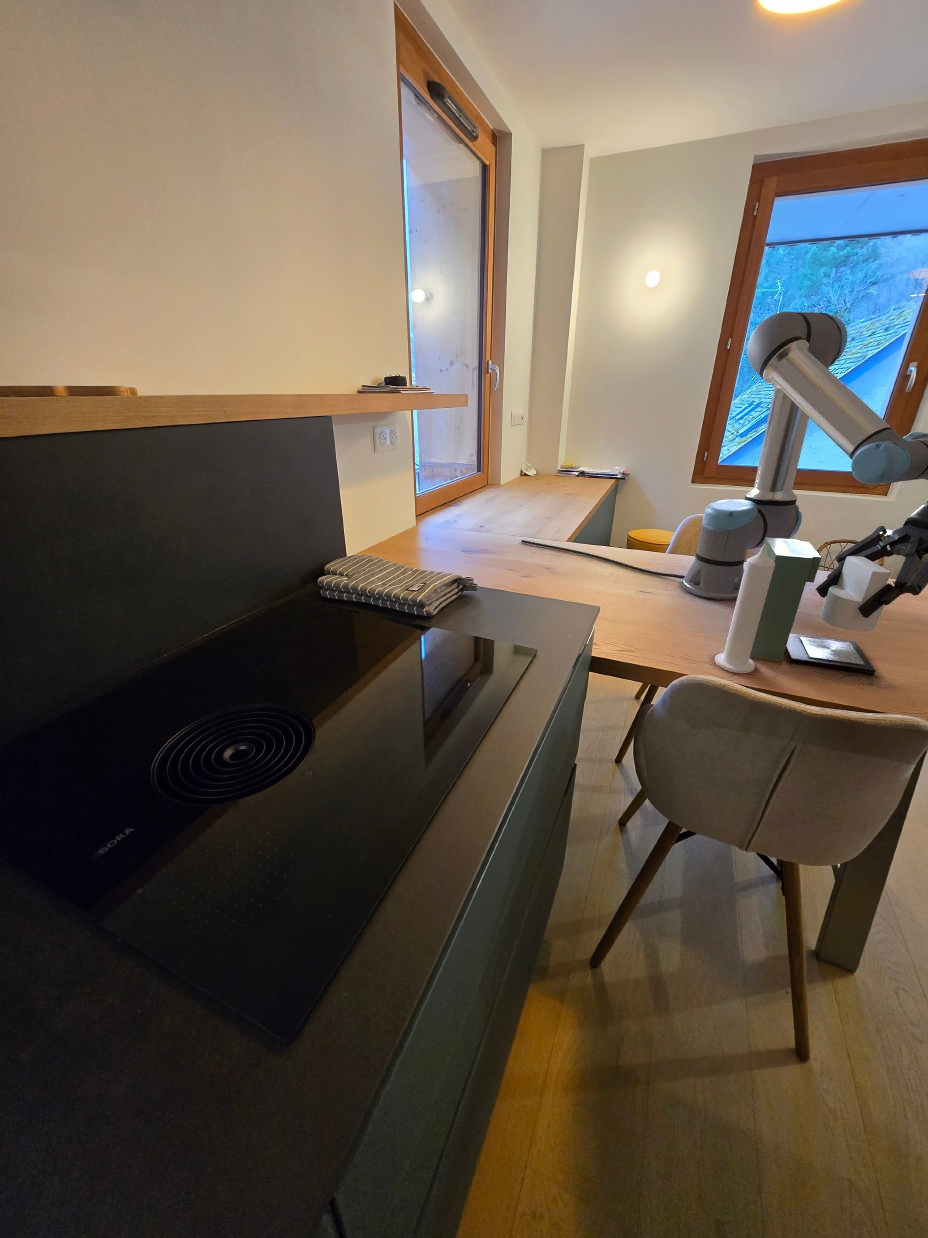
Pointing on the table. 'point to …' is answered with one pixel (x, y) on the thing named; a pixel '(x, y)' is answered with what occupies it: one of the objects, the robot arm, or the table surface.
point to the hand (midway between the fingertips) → (839, 602)
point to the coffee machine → (780, 609)
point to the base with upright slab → (854, 595)
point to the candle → (747, 614)
